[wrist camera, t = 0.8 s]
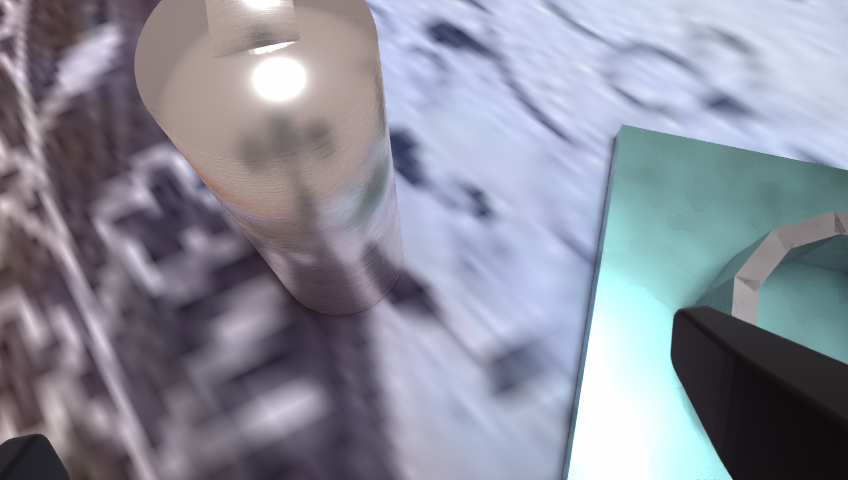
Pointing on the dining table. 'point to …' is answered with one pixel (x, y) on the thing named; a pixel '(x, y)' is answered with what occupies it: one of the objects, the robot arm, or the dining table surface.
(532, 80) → the dining table surface
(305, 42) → the metal bottle
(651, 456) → the duct collar
